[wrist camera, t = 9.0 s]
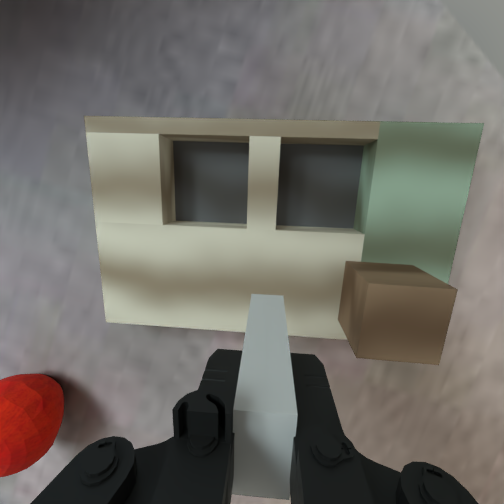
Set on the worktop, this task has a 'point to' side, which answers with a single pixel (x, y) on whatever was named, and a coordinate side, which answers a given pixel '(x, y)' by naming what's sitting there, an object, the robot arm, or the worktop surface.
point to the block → (395, 312)
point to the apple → (28, 419)
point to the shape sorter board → (267, 212)
